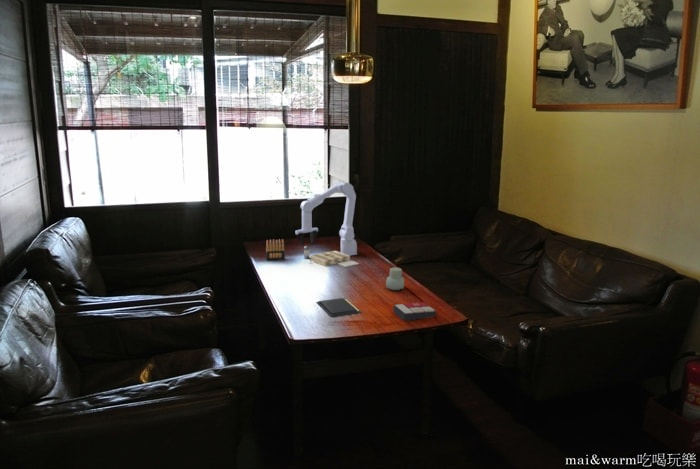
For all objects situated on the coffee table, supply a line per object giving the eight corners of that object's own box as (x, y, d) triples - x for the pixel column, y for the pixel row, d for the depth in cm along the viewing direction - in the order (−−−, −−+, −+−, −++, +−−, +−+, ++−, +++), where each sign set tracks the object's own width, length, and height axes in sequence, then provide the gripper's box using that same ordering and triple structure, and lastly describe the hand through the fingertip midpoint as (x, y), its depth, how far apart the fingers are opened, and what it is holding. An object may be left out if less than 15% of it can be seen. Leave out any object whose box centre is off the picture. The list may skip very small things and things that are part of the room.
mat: (351, 261, 308) (351, 260, 308) (359, 264, 303) (359, 263, 303) (337, 264, 302) (337, 263, 302) (345, 267, 297) (345, 266, 297)
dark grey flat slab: (315, 299, 243) (346, 295, 249) (315, 303, 244) (346, 299, 249) (329, 315, 225) (363, 310, 230) (329, 319, 226) (363, 314, 231)
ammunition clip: (284, 258, 312) (284, 238, 310) (284, 259, 311) (284, 239, 308) (266, 259, 310) (265, 239, 307) (266, 260, 309) (265, 239, 306)
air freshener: (402, 292, 257) (403, 272, 255) (385, 291, 259) (386, 271, 256) (404, 285, 268) (405, 266, 265) (388, 284, 269) (388, 265, 267)
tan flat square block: (330, 256, 311) (330, 254, 311) (334, 257, 308) (334, 256, 308) (325, 257, 309) (325, 255, 309) (329, 258, 306) (329, 257, 306)
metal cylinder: (307, 257, 315) (307, 245, 314) (310, 258, 313) (310, 246, 312) (303, 258, 314) (303, 246, 312) (306, 259, 311) (306, 247, 310)
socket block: (335, 255, 320) (335, 250, 319) (349, 260, 309) (349, 255, 309) (310, 260, 309) (310, 255, 308) (324, 266, 298) (324, 260, 298)
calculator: (436, 310, 227) (405, 312, 222) (435, 319, 228) (404, 322, 222) (424, 301, 237) (393, 303, 232) (423, 310, 238) (392, 312, 232)
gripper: (313, 219, 316) (313, 241, 319) (292, 222, 307) (292, 245, 310) (320, 221, 310) (320, 243, 314) (299, 224, 302) (299, 247, 305)
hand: (306, 244), depth 311 cm, fingers open, 7 cm apart
